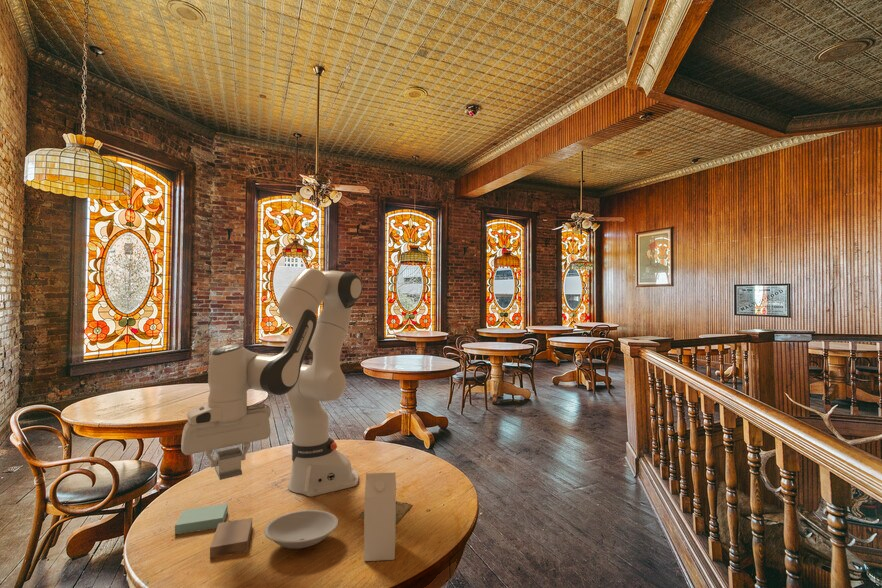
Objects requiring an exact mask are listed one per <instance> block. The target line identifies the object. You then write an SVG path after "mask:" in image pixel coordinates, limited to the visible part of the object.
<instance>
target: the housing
mask: <svg viewBox="0 0 882 588" xmlns="http://www.w3.org/2000/svg"><path fill="white" fill-rule="evenodd" d="M214 452H215V453H214V455H215V456H214V458H216V457H217V459H218V462H217V464H218V466H216V467H214V470H215V472H216V475H217V476H218V479H219V481H222V480H227V479H230V478H234V477H238V476H243V470H242V461H241V456H242V449H240V447H239V445H234V446H229V447H224V448H219V449H215V450H214Z"/></svg>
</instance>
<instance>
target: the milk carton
mask: <svg viewBox="0 0 882 588" xmlns="http://www.w3.org/2000/svg"><path fill="white" fill-rule="evenodd" d="M396 484H397V480H396V472H378V473H377V472H375V473H374V472H372V473H371V472H370V473H365V486H364V501H363V502H364V504H363V505H364V507H363V508H364V509H363V511H364V519H363V521H364V522H363V524H364V527H363V532H364V533H363V561H364V562H371V561H372V562H373V561H393V560H396V559H395V558H396V556H395V555H396V535H397V534H396V532H397V531H396V529H397V528H396V527H397V524H396V501H397V498H396V495H397V494H396V493H397V492H396V491H397V489H396V487H397V485H396Z"/></svg>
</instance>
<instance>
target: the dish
mask: <svg viewBox="0 0 882 588" xmlns="http://www.w3.org/2000/svg"><path fill="white" fill-rule="evenodd" d="M338 525H339V519H338V517H337V516H336V515H335V514H333V513H331V512H329V511H326V510H321V509H319V510H317V509H306V510H304V509H303V510H297V511H293V512H288V513H285V514H283V515H279V516H277V517H275V518H273V519H272V520H270V521H269V522H268V523H267V524H266V525H265V527H264V528H263V529H264V531H263V534H264V536H265V537H266V538H267V539H269V540H270V541H272V542H274V543H275V544H277V545H278V546H281V547H283V548H287V549H292V550H293V549H304V548H309V547H312V546H315V545H317V544H318V543H320V542H322V541H323V540H324V539H326V538H327V536H329V535H330V534H331V533H333V532H334V531H335V529H336V528H337V527H338Z"/></svg>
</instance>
